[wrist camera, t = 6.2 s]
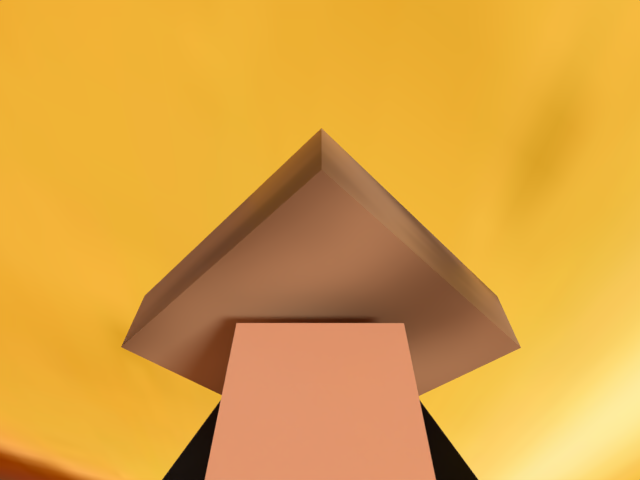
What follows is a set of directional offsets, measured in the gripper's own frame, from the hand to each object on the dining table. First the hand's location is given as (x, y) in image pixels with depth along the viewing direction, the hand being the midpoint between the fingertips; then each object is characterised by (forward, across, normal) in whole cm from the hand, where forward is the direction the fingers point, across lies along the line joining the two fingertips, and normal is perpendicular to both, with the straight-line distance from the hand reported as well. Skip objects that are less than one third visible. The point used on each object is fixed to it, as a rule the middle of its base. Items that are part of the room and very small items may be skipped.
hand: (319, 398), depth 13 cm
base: (+4, 0, 0) cm, 5 cm away
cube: (+1, 0, 0) cm, 1 cm away
